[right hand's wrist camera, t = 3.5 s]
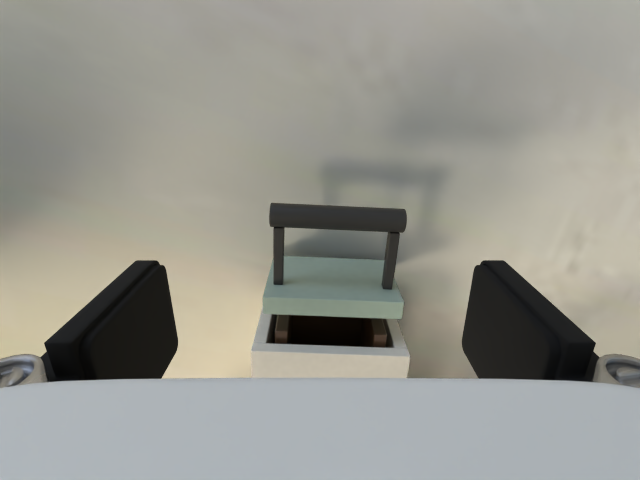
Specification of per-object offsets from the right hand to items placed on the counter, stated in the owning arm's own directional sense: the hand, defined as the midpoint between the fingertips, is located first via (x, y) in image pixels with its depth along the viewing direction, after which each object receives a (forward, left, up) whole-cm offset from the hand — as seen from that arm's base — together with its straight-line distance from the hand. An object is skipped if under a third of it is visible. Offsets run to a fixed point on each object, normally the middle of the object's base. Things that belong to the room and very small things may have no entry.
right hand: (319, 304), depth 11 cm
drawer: (-7, -5, -15) cm, 18 cm away
